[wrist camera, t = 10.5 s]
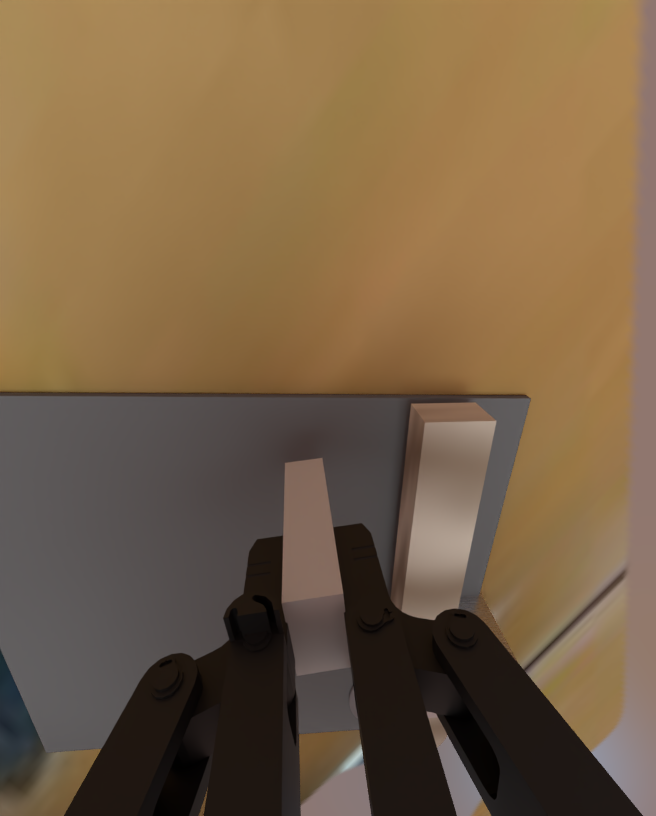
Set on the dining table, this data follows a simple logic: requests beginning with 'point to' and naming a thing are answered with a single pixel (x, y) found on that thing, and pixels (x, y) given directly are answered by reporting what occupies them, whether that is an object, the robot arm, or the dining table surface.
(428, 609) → the link
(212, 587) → the mat
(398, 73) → the dining table surface
